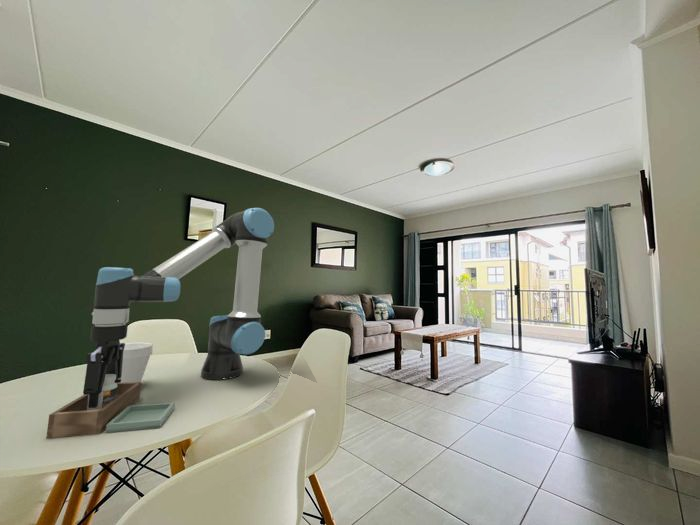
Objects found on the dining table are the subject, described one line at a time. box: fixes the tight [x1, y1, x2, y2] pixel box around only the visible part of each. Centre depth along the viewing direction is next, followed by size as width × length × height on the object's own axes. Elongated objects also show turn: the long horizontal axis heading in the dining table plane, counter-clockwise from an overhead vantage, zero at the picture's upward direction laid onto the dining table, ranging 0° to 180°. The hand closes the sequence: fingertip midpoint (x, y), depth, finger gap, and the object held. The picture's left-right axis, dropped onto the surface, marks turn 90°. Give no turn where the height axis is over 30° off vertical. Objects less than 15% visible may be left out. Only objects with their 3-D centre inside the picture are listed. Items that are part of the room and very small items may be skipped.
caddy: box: [45, 381, 142, 439], centre depth 74 cm, size 10×21×5 cm, turn 16°
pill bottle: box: [87, 374, 118, 408], centre depth 74 cm, size 6×6×10 cm
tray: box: [105, 402, 176, 434], centre depth 72 cm, size 11×11×2 cm
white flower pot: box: [120, 342, 154, 383], centre depth 95 cm, size 12×12×14 cm
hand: (100, 413), depth 74 cm, fingers closed on pill bottle, 6 cm apart
